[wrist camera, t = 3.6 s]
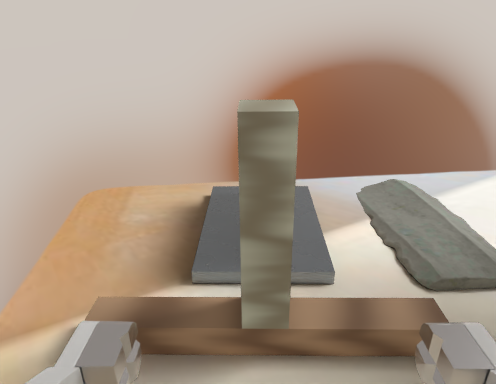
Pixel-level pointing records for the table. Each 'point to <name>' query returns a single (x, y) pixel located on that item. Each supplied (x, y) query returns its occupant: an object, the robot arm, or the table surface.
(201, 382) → the table surface
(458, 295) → the table surface
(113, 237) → the table surface
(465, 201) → the table surface
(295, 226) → the stand
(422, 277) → the stone slab
